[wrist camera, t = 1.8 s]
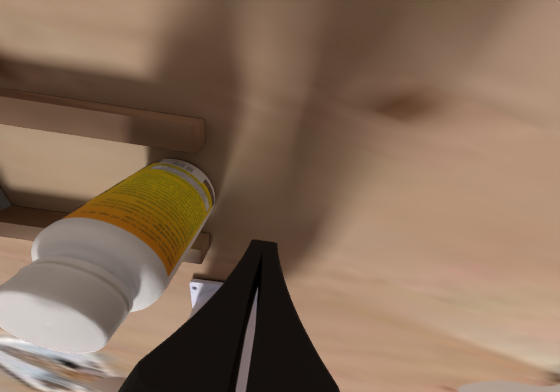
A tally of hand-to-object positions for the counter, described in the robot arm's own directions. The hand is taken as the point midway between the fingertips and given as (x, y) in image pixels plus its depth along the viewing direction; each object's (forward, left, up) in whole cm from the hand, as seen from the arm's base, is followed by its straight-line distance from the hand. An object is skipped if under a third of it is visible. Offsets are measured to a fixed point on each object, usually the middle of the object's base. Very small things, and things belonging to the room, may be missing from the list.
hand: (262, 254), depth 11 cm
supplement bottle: (0, +7, -6) cm, 9 cm away
